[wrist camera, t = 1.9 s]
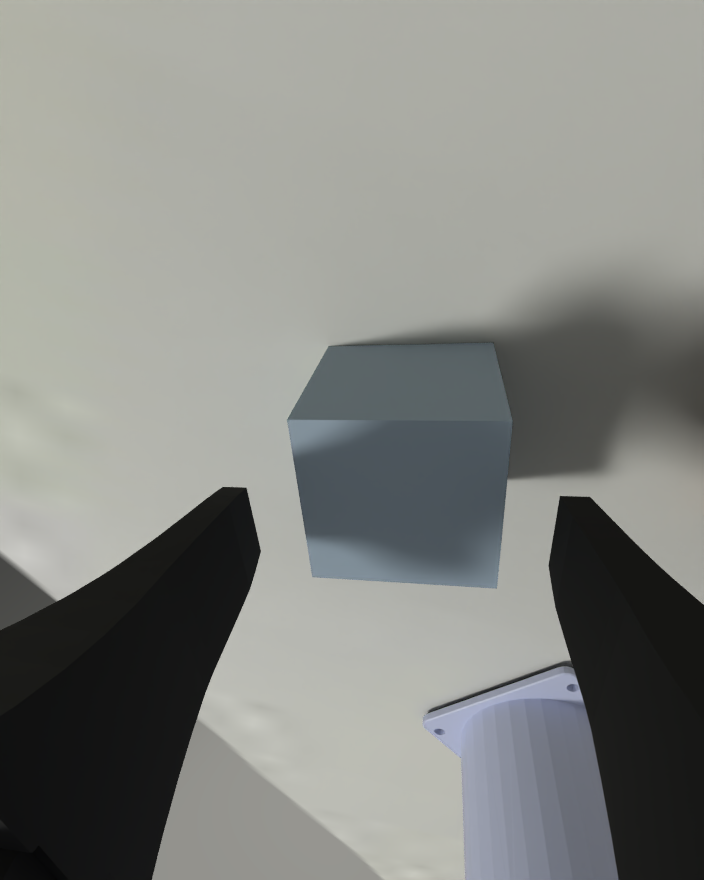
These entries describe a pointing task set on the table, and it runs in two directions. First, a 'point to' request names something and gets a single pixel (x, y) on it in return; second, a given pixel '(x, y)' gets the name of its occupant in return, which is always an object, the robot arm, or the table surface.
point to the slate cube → (404, 463)
